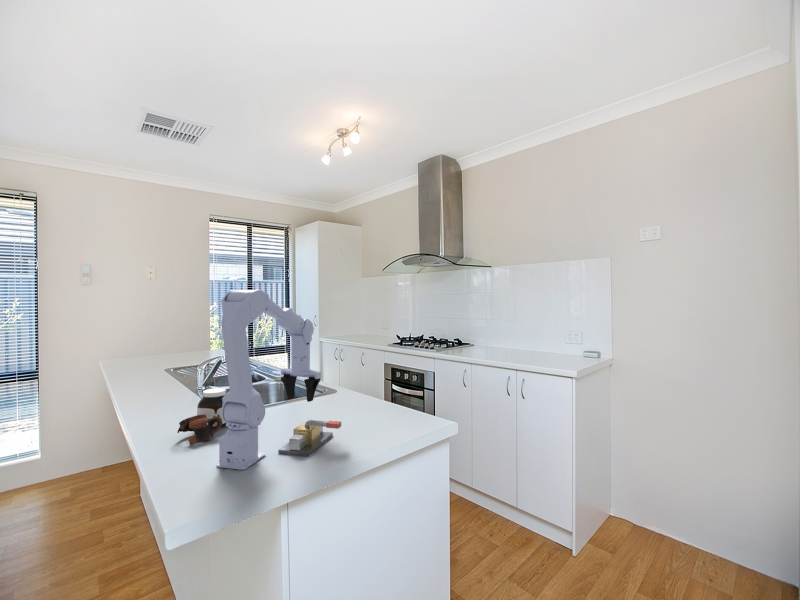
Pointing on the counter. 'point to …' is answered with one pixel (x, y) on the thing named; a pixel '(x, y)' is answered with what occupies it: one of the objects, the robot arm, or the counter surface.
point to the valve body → (305, 440)
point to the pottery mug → (200, 428)
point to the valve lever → (323, 424)
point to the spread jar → (212, 404)
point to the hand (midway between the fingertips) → (300, 399)
